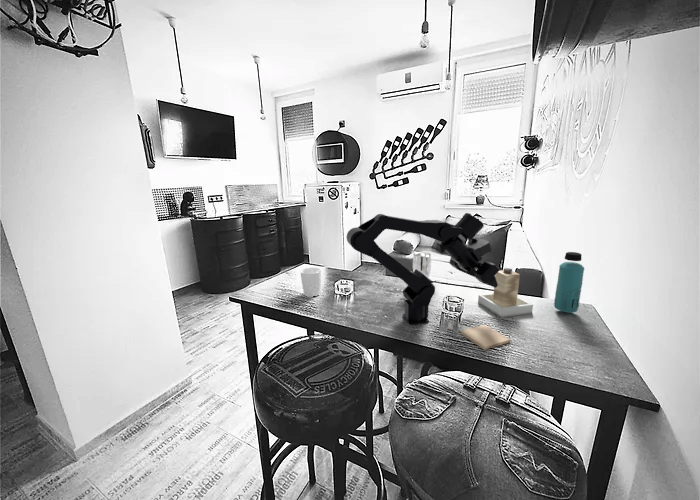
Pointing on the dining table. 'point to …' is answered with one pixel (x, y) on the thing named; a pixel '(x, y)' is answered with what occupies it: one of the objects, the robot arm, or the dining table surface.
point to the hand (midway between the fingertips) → (487, 281)
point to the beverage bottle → (569, 284)
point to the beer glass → (422, 263)
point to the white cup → (311, 281)
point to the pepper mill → (506, 288)
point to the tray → (519, 309)
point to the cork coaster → (485, 337)
